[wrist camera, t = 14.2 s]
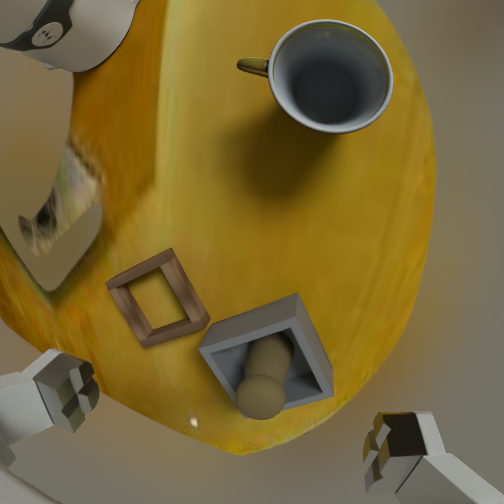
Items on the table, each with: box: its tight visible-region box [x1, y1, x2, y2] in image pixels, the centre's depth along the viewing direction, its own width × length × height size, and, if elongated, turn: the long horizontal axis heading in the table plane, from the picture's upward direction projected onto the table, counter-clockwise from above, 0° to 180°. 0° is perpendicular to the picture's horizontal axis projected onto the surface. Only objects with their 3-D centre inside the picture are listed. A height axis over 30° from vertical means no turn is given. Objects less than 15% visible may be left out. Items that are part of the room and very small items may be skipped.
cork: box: [235, 331, 295, 420], centre depth 34 cm, size 6×6×11 cm
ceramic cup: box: [237, 19, 393, 134], centre depth 26 cm, size 13×10×10 cm
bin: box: [198, 293, 334, 418], centre depth 38 cm, size 12×12×6 cm
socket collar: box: [105, 248, 211, 348], centre depth 40 cm, size 10×10×2 cm
